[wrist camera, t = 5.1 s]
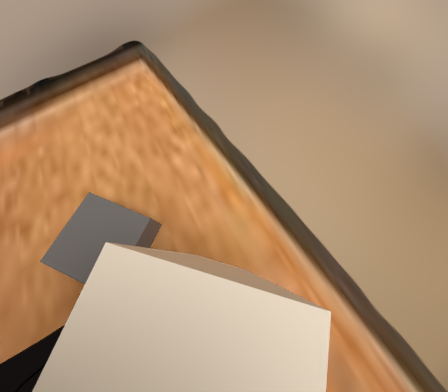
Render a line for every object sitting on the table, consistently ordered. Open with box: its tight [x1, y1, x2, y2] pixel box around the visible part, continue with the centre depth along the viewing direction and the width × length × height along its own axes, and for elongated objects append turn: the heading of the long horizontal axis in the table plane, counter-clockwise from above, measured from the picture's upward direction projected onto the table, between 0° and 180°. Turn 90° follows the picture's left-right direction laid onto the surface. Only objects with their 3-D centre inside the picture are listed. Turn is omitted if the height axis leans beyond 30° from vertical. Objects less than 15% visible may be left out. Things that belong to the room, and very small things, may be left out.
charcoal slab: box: [40, 192, 162, 284], centre depth 20 cm, size 8×8×4 cm
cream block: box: [32, 242, 331, 392], centre depth 8 cm, size 4×4×12 cm
